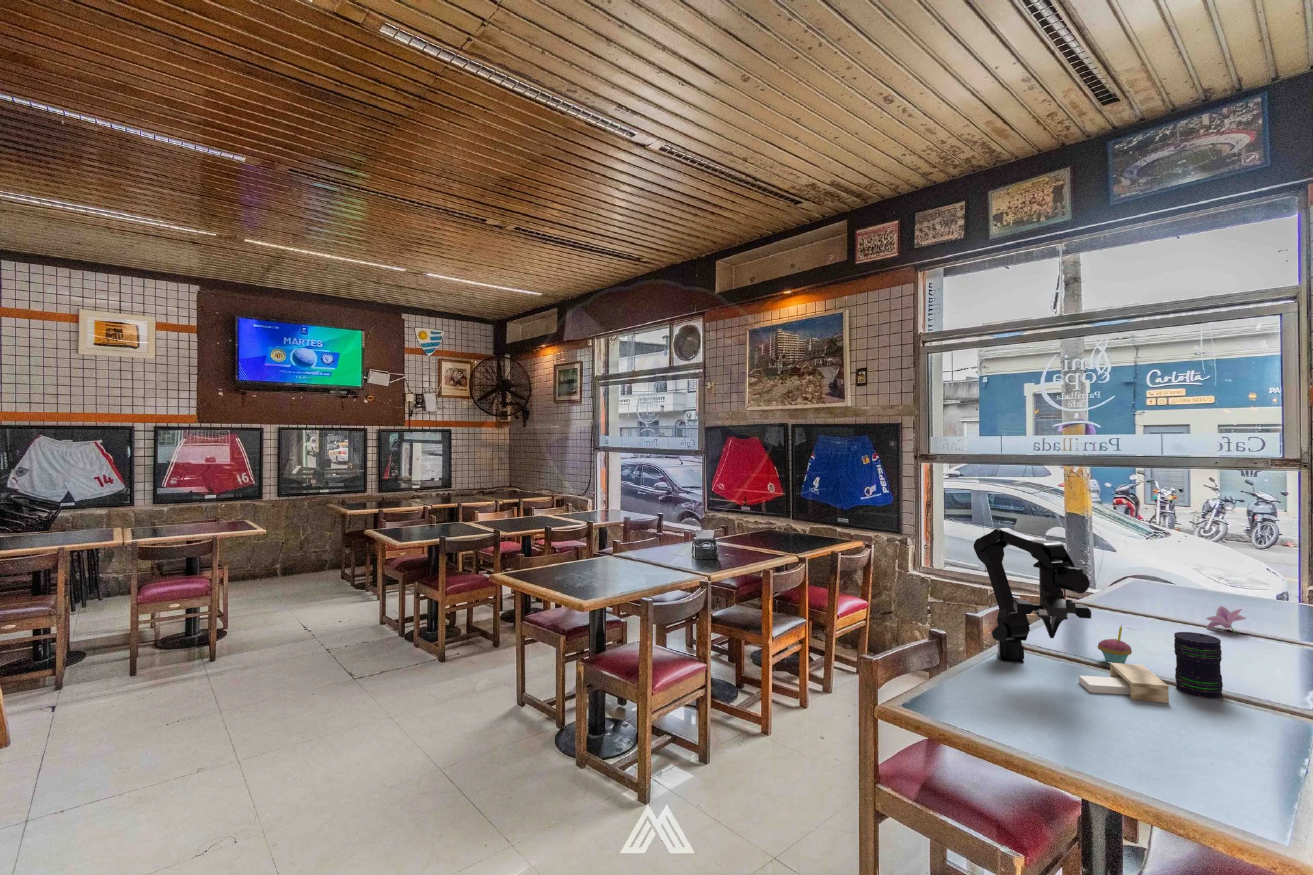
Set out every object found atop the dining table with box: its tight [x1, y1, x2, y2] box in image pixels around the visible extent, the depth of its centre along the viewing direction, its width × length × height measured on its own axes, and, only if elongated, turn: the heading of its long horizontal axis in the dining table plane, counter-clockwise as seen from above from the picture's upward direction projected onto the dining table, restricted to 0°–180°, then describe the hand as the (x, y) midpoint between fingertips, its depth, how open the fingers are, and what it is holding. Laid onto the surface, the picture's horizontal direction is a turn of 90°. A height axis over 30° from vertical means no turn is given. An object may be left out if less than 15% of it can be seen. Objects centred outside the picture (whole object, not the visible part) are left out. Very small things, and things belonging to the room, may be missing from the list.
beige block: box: [1109, 663, 1170, 704], centre depth 171 cm, size 8×16×4 cm, turn 161°
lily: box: [1205, 605, 1247, 636], centre depth 220 cm, size 12×12×10 cm
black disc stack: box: [1173, 631, 1224, 700], centre depth 169 cm, size 10×10×15 cm
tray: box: [1078, 675, 1130, 696], centre depth 172 cm, size 16×7×2 cm, turn 76°
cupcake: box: [1097, 624, 1133, 664], centre depth 193 cm, size 9×8×12 cm
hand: (1051, 637), depth 182 cm, fingers closed
